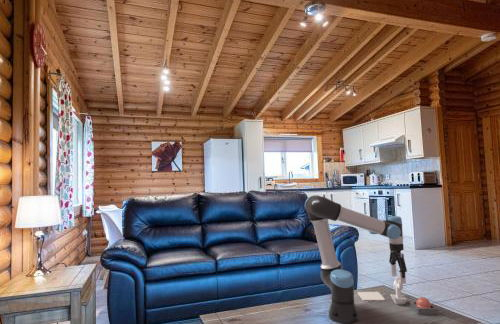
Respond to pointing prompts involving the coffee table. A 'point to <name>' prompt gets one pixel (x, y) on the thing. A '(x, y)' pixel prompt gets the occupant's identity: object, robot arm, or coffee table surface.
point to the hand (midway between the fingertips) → (398, 279)
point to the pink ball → (423, 303)
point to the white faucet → (398, 292)
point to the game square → (371, 296)
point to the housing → (424, 309)
